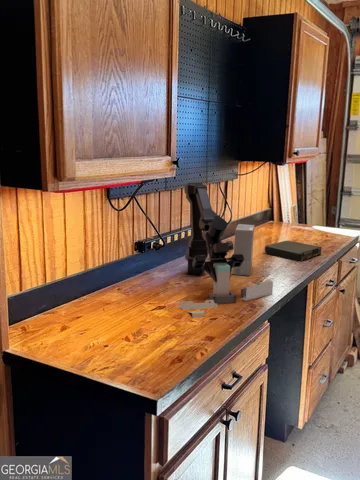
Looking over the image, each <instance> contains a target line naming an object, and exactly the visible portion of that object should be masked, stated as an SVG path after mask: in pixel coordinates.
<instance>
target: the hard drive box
mask: <svg viewBox="0 0 360 480" xmlns="http://www.w3.org/2000/svg"><path fill="white" fill-rule="evenodd" d="M254 234H255V224H243V223H242V224H241V223H239V224H237V226H236V228H235V230H234V243H233V254H243V256H244V259H245V260H244V261H243V263H242V265H241V266H240V267H233V268H232V275H237V276H251V272H252V268H253V257H254V256H253V253H254V239H255V237H254V236H255V235H254Z"/></svg>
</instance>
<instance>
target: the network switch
mask: <svg viewBox="0 0 360 480" xmlns="http://www.w3.org/2000/svg"><path fill="white" fill-rule="evenodd" d="M264 252H265V253H266V255H269V256H272V257H277V258H278V257H279V258H282V259H286V260H290V261H295V262H298V263H299V262H302V261H304V260H308V259H310V258H313V257H316V256H321V254H322V246H318V245H314V244H307V243H303V242H296V241H292V240H283V241H278V242H276V243H275V242H274V243H270V244H267V245H265V247H264Z"/></svg>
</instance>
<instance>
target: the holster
mask: <svg viewBox="0 0 360 480" xmlns="http://www.w3.org/2000/svg"><path fill="white" fill-rule="evenodd" d="M208 295H209V296H208V300H214V303H216V304H217V305H219V304H235V303H236V302H237V295H236V294H234V293H233V292H232V291H229V295H228V296H215V295H214V294H213V292H209V294H208Z"/></svg>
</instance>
